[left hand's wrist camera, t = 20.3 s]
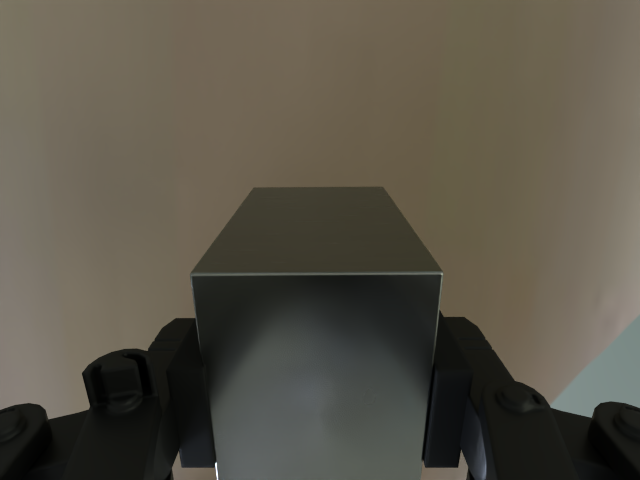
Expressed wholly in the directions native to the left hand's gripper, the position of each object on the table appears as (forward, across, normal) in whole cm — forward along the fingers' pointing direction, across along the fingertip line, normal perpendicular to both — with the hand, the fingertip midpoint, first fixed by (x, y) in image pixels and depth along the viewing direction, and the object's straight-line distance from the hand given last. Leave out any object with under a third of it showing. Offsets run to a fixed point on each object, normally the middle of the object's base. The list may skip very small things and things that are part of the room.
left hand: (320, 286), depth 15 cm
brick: (+1, 0, 0) cm, 1 cm away
